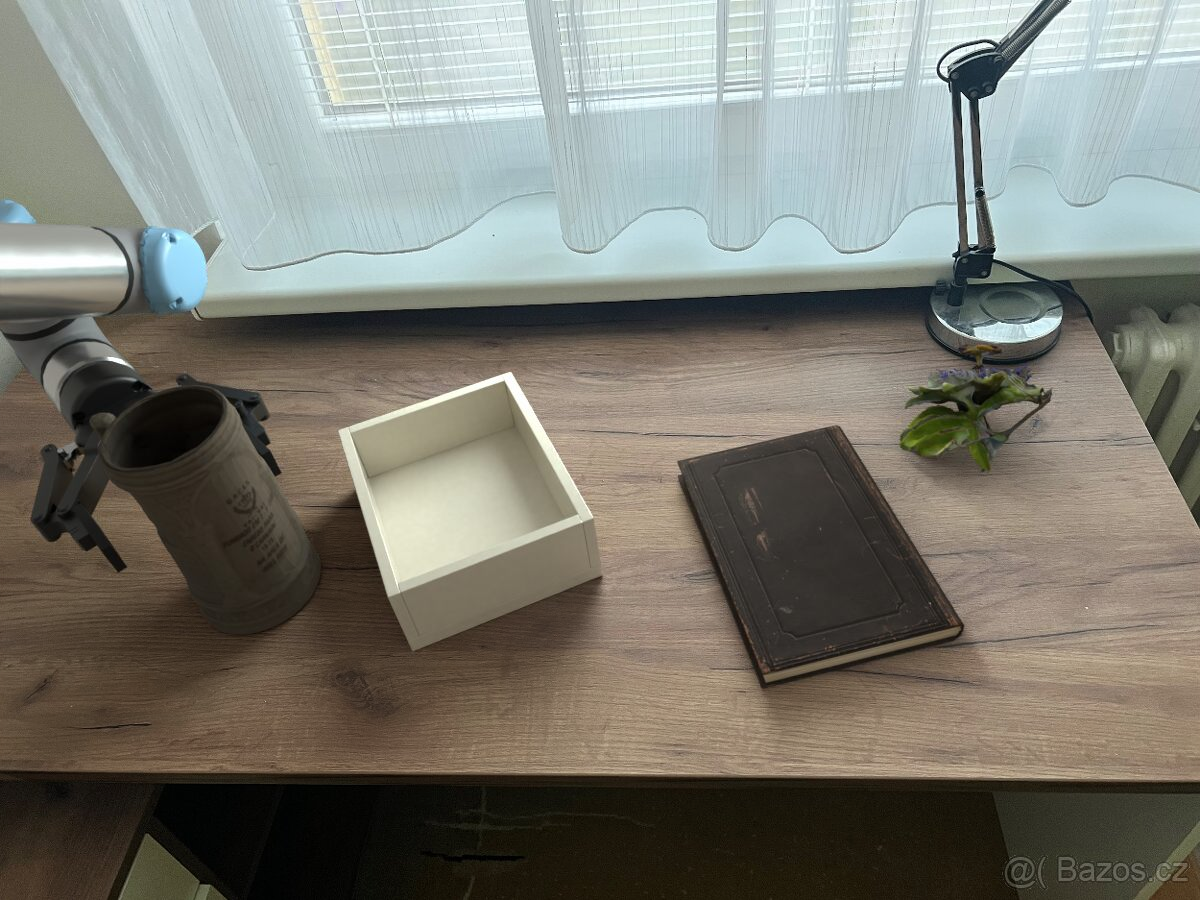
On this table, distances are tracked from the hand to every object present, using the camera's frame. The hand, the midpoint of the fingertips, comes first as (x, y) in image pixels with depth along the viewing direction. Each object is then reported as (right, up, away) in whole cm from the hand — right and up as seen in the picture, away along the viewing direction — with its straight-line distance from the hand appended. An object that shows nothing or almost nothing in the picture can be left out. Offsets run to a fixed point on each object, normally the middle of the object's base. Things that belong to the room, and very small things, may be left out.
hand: (196, 510), depth 70 cm
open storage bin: (+21, -2, +10) cm, 23 cm away
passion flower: (+67, +5, +12) cm, 68 cm away
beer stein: (0, -7, +9) cm, 11 cm away
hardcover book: (+50, -4, +5) cm, 50 cm away
